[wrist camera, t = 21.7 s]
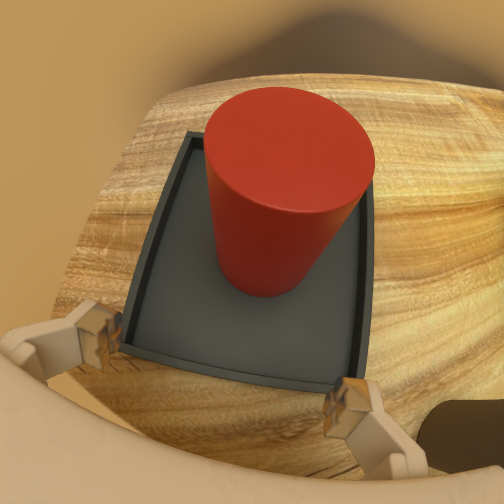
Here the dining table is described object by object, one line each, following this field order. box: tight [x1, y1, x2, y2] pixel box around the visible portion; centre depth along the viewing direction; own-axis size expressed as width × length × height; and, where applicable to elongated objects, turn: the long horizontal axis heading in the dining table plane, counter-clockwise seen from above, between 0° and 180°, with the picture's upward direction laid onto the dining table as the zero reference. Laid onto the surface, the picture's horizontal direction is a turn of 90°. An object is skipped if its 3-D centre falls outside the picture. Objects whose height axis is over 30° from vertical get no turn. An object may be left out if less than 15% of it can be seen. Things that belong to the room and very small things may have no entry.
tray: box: [117, 131, 374, 394], centre depth 20 cm, size 17×15×2 cm
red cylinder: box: [203, 87, 375, 297], centre depth 15 cm, size 6×6×11 cm
